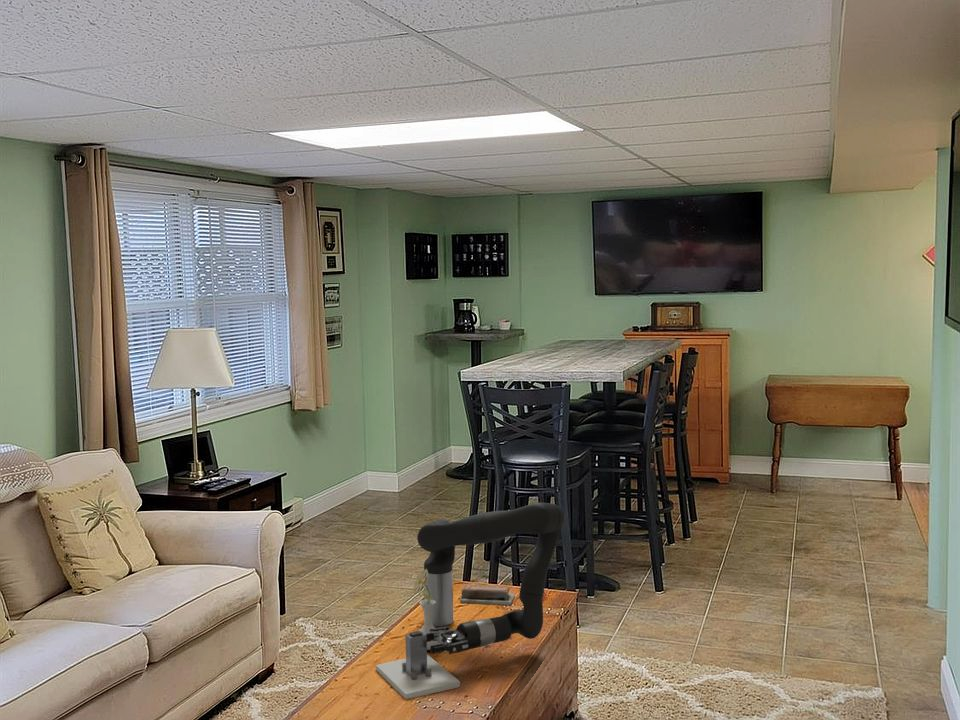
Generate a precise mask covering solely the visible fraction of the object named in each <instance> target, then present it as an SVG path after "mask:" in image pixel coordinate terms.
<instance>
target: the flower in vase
mask: <svg viewBox="0 0 960 720" xmlns="http://www.w3.org/2000/svg"><path fill="white" fill-rule="evenodd" d="M427 580H428V570H427V569H426V570H425V571H424V568H422V569H421V570H420V572H417V576H416V579H415V580H414V581H413V584H414V586H413V589H412V591H413V593H414V594H420V592H422V596H423V597H424V598H425V597H426V598H427V599H426V600H425V599H422V600H420V601H419V605H420V606H421V608H422V610H423V619H424V621H423V625H422V627H421V628H420V629H418V631H422V632H423V633H425V634H427V633H430V629H433V628H436V626H433V625H432V609H433V606H434V604H435V603H436V601H434V600H430V597H431V595H430V593H429V589H428V587H427V585H426V583H427ZM424 586H426V588H427V590H428V591H427V590H426V589H425V588H424ZM434 635H435V634H434ZM441 639H442V637H441ZM434 644H439V643H438V641H430V642H427V651H430V646H431V645H434ZM443 644H444V643H443Z"/></svg>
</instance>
